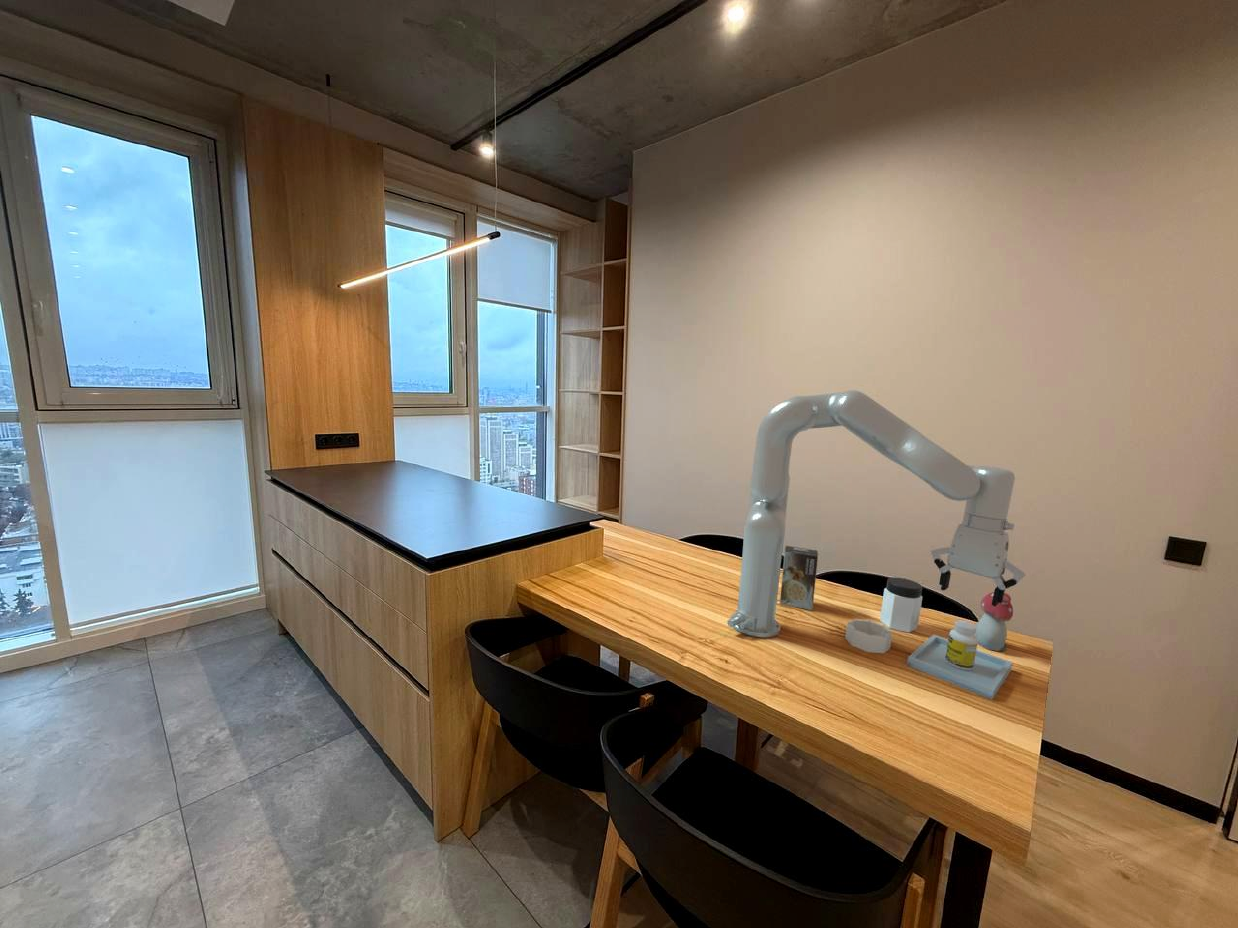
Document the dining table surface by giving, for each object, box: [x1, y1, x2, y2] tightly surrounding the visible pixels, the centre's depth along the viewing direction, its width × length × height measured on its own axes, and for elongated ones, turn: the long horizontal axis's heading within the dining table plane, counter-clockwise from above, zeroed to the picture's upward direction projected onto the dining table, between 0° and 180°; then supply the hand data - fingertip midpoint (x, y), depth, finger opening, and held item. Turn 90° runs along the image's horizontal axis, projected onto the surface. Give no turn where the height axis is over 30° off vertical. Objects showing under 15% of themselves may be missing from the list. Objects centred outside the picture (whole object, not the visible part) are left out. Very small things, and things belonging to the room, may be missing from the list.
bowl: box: [845, 618, 893, 654], centre depth 122 cm, size 9×9×4 cm
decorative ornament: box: [974, 591, 1014, 652], centre depth 124 cm, size 9×7×15 cm
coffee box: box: [779, 545, 819, 611], centre depth 142 cm, size 9×6×16 cm
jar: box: [879, 577, 923, 633], centre depth 132 cm, size 9×8×12 cm
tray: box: [906, 634, 1013, 700], centre depth 113 cm, size 18×16×2 cm
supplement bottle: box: [945, 620, 978, 670], centre depth 112 cm, size 5×5×10 cm
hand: (968, 596), depth 111 cm, fingers open, 9 cm apart
